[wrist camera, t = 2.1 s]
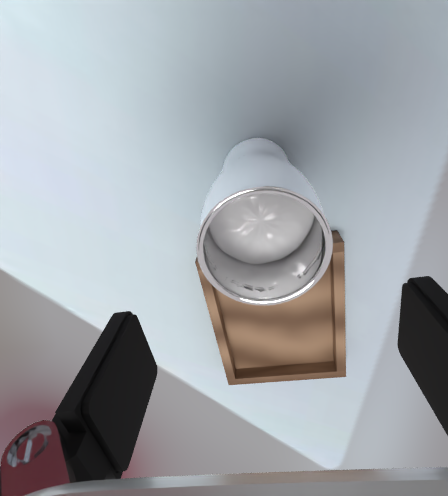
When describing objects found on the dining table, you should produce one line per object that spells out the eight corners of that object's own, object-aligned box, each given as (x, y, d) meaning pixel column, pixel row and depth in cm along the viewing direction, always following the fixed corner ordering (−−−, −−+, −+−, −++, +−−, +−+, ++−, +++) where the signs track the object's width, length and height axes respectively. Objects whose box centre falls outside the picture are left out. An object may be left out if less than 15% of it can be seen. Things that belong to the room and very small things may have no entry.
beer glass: (202, 177, 29) (164, 258, 15) (252, 113, 26) (257, 147, 13) (258, 222, 30) (267, 329, 17) (311, 167, 27) (370, 246, 14)
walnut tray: (198, 249, 32) (195, 261, 30) (337, 230, 30) (344, 242, 28) (229, 368, 40) (228, 385, 38) (340, 359, 38) (345, 376, 36)
